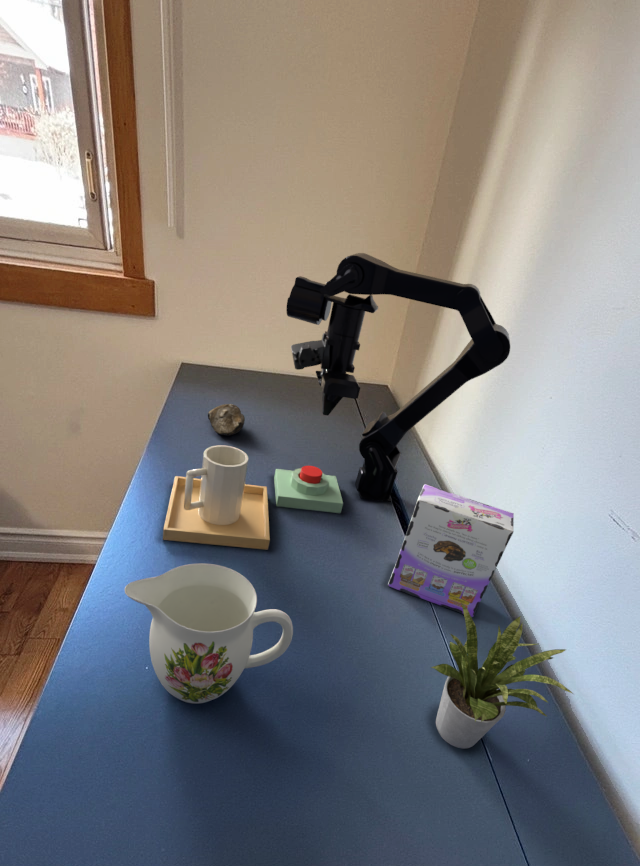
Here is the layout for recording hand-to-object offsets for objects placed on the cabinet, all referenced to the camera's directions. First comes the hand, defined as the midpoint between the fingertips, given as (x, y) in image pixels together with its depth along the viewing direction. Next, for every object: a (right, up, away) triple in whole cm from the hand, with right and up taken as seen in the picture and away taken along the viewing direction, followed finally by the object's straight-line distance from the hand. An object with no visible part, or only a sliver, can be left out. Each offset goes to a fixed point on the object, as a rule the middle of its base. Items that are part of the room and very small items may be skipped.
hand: (325, 414), depth 102 cm
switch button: (-3, -13, -3) cm, 13 cm away
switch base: (-4, -15, -1) cm, 16 cm away
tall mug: (-19, -19, -13) cm, 30 cm away
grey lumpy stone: (-22, 0, +16) cm, 27 cm away
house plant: (+16, -46, -39) cm, 63 cm away
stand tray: (-18, -19, -12) cm, 29 cm away
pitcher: (-14, -39, -40) cm, 57 cm away
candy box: (+17, -32, -17) cm, 40 cm away
